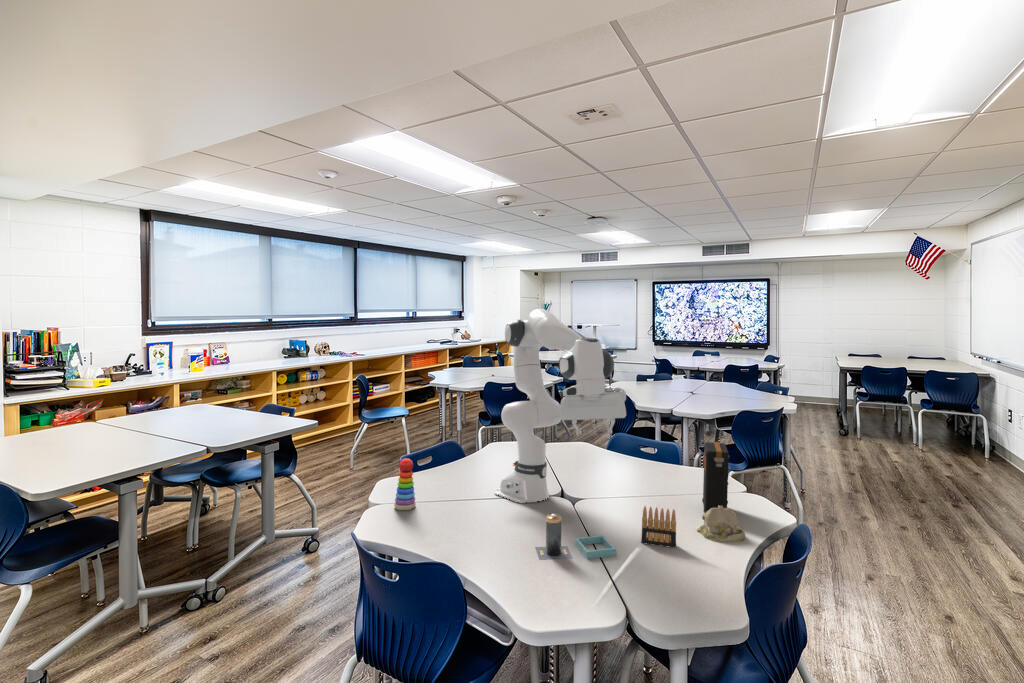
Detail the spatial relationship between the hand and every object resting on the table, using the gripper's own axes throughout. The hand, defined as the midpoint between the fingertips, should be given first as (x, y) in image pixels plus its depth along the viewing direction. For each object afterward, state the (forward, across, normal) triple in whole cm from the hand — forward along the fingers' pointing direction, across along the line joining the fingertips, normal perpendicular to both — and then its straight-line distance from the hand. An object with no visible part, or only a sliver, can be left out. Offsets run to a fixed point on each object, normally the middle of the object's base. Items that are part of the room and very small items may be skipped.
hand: (594, 434), depth 150 cm
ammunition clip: (+37, -17, -14) cm, 43 cm away
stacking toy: (+28, +74, -24) cm, 82 cm away
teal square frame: (+36, +2, -3) cm, 37 cm away
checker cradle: (+36, +15, +2) cm, 39 cm away
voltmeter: (+34, -40, -46) cm, 70 cm away
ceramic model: (+37, -38, -26) cm, 59 cm away
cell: (+35, +14, +2) cm, 38 cm away
